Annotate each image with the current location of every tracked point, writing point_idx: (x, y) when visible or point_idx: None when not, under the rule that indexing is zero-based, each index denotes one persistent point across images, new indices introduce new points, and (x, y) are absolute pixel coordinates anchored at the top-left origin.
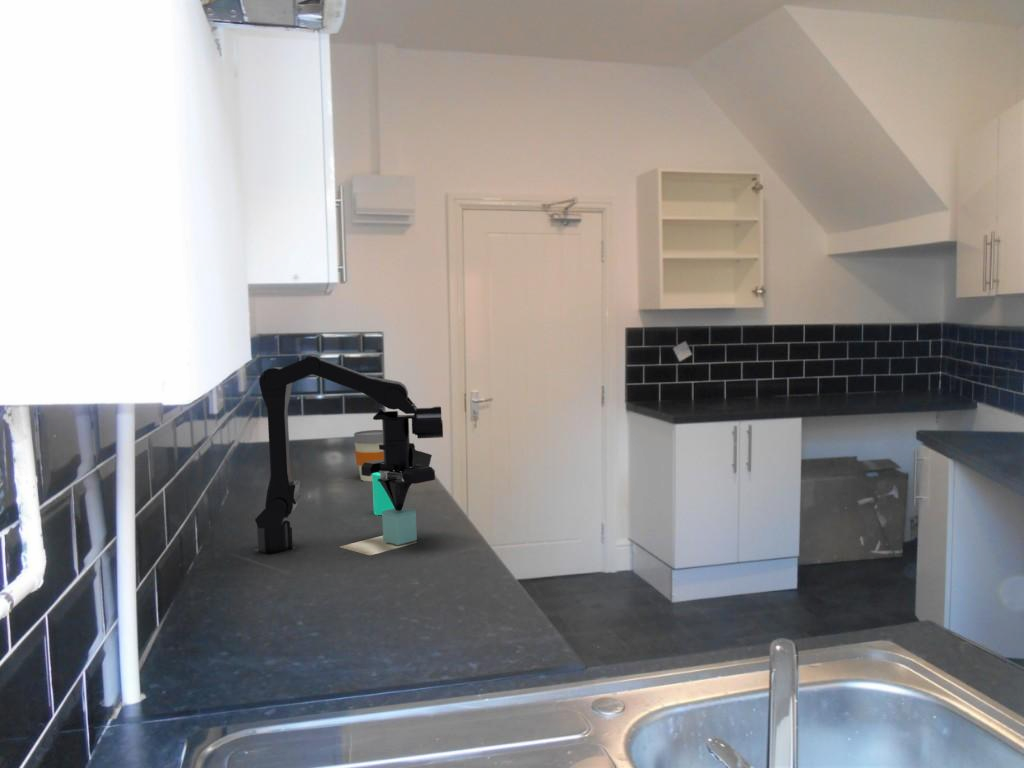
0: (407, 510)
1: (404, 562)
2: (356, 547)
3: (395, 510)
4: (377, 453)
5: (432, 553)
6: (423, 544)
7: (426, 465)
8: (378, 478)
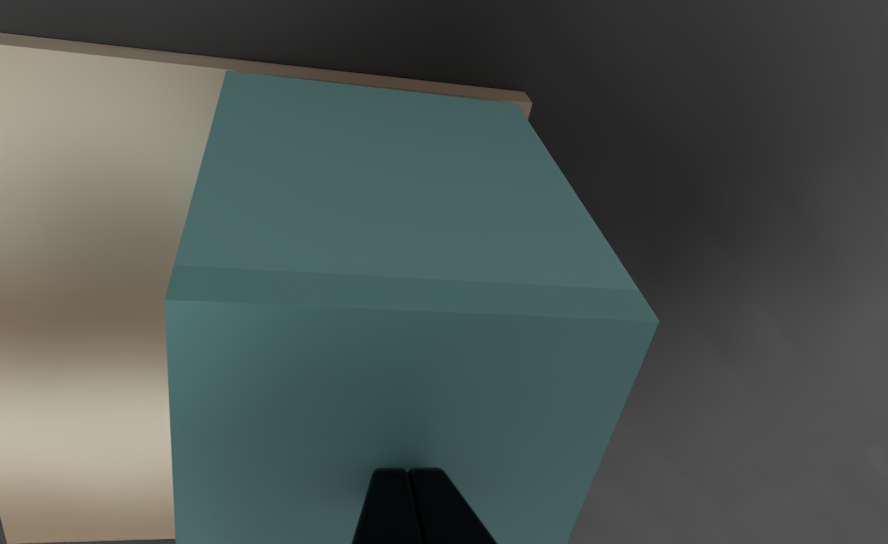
0: (524, 402)
1: (698, 452)
2: (151, 487)
3: (320, 492)
4: None
5: (798, 226)
6: (566, 42)
7: None
8: None
